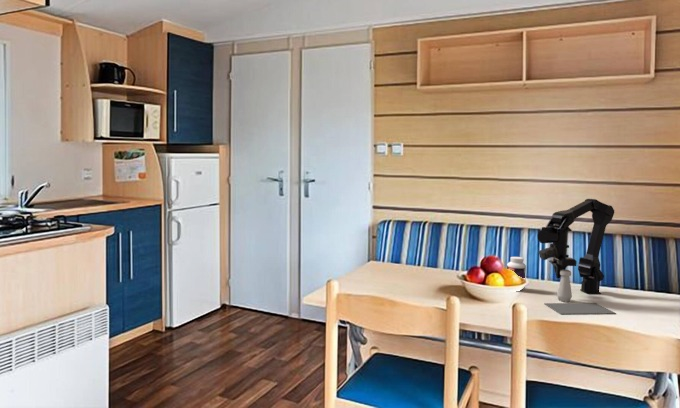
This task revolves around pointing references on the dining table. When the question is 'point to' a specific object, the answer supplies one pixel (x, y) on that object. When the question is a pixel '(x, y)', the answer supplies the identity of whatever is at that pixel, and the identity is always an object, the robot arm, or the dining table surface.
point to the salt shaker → (564, 286)
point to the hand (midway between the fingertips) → (557, 278)
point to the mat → (578, 308)
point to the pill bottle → (517, 266)
